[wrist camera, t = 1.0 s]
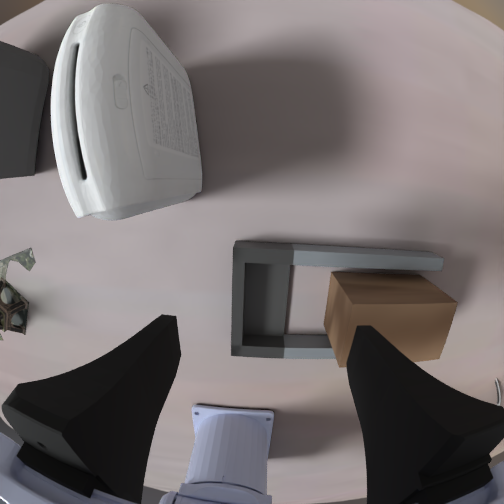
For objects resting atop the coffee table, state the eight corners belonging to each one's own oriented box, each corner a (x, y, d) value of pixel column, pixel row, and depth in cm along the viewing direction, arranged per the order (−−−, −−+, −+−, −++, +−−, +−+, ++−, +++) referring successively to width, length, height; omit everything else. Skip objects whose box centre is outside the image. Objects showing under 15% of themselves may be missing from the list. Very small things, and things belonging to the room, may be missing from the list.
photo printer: (139, 80, 18) (39, 16, 6) (192, 66, 18) (123, -28, 6) (154, 207, 21) (44, 245, 9) (210, 197, 20) (138, 226, 8)
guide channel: (410, 342, 23) (418, 353, 21) (233, 342, 23) (231, 355, 21) (431, 252, 21) (444, 258, 19) (236, 240, 21) (233, 247, 19)
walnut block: (408, 322, 22) (439, 358, 17) (323, 323, 23) (339, 367, 17) (419, 274, 21) (457, 302, 15) (330, 271, 21) (352, 304, 16)
